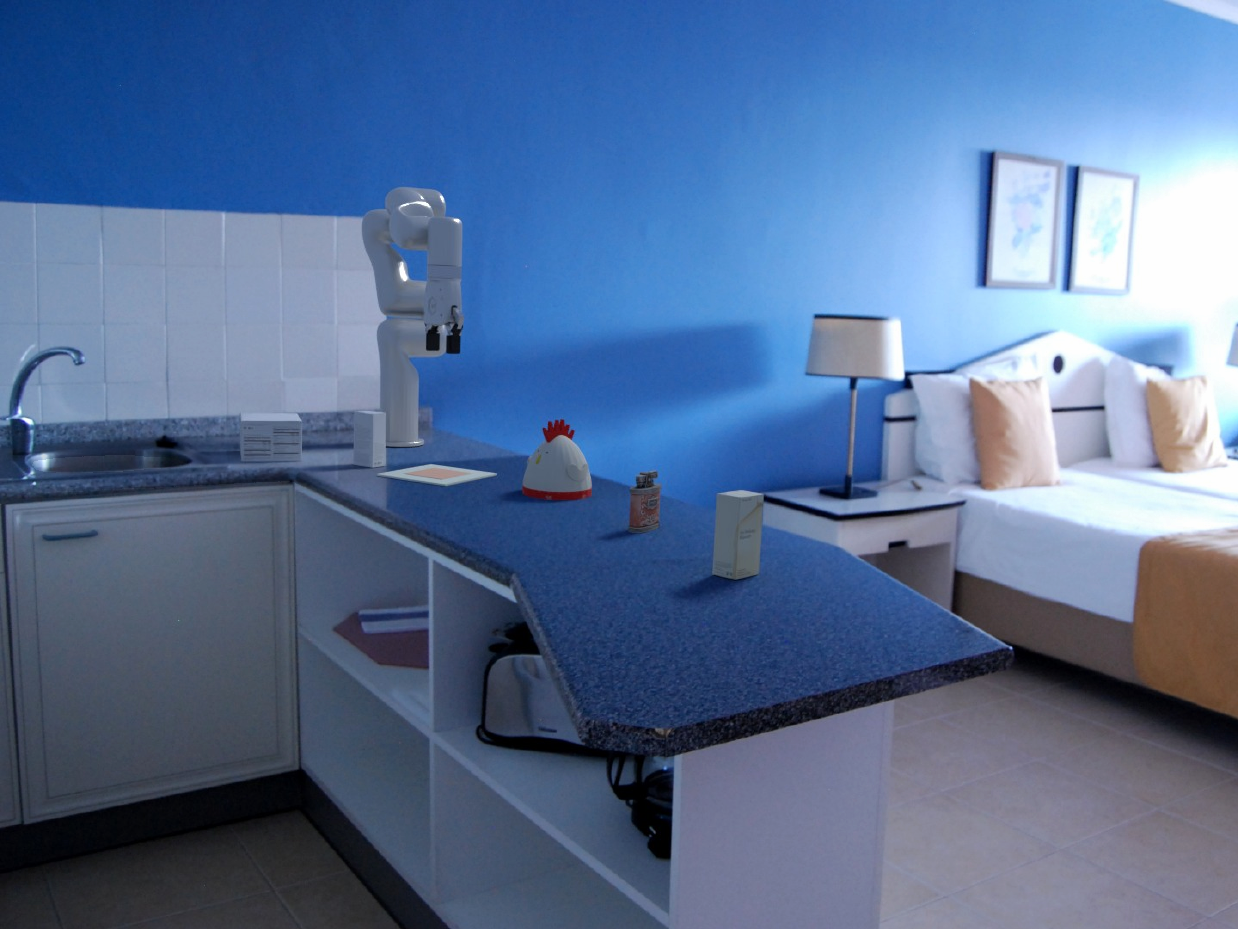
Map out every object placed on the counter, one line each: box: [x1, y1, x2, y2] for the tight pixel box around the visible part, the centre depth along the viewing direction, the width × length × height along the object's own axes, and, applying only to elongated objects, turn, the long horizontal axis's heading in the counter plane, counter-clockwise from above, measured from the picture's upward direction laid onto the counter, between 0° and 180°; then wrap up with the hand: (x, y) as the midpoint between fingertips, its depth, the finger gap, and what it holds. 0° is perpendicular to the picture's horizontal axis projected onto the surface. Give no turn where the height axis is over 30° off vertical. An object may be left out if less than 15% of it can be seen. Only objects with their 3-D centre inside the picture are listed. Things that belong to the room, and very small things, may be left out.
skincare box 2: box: [711, 489, 765, 580], centre depth 156 cm, size 6×4×12 cm
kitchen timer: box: [521, 418, 593, 501], centre depth 214 cm, size 14×14×15 cm
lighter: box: [627, 470, 663, 534], centre depth 185 cm, size 8×3×10 cm, turn 148°
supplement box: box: [239, 412, 303, 463], centre depth 244 cm, size 17×13×9 cm
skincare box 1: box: [353, 410, 387, 469], centre depth 237 cm, size 6×4×12 cm
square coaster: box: [376, 463, 498, 487], centre depth 229 cm, size 18×18×1 cm
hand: (442, 352), depth 239 cm, fingers open, 9 cm apart
